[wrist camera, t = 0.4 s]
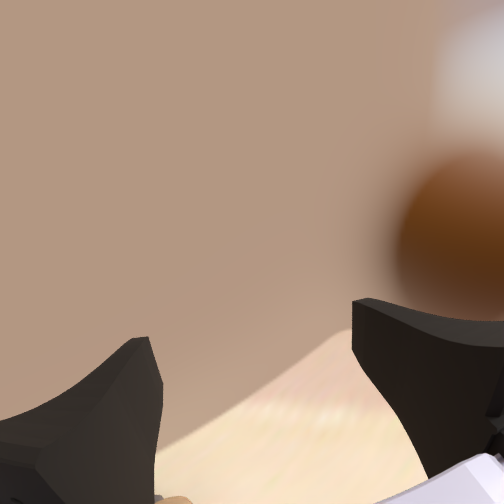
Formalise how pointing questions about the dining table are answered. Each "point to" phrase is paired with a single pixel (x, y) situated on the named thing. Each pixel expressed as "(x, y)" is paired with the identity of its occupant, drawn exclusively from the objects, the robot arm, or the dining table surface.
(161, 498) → the paper roll
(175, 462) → the dining table surface
